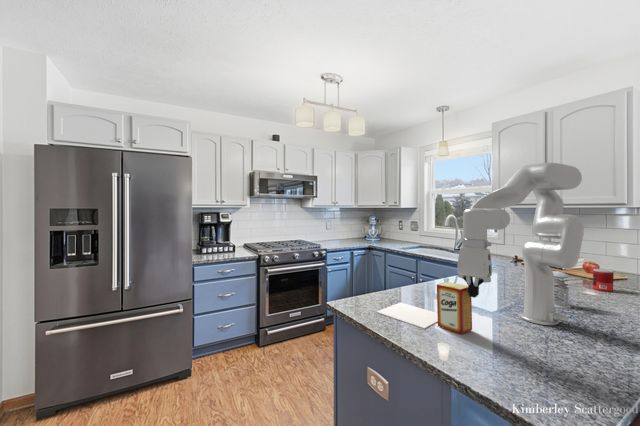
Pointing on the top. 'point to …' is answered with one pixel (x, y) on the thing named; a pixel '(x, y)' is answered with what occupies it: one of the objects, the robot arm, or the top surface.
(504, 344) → the top surface
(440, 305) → the baking soda box
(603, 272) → the canned food
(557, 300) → the french press
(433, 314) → the mat
